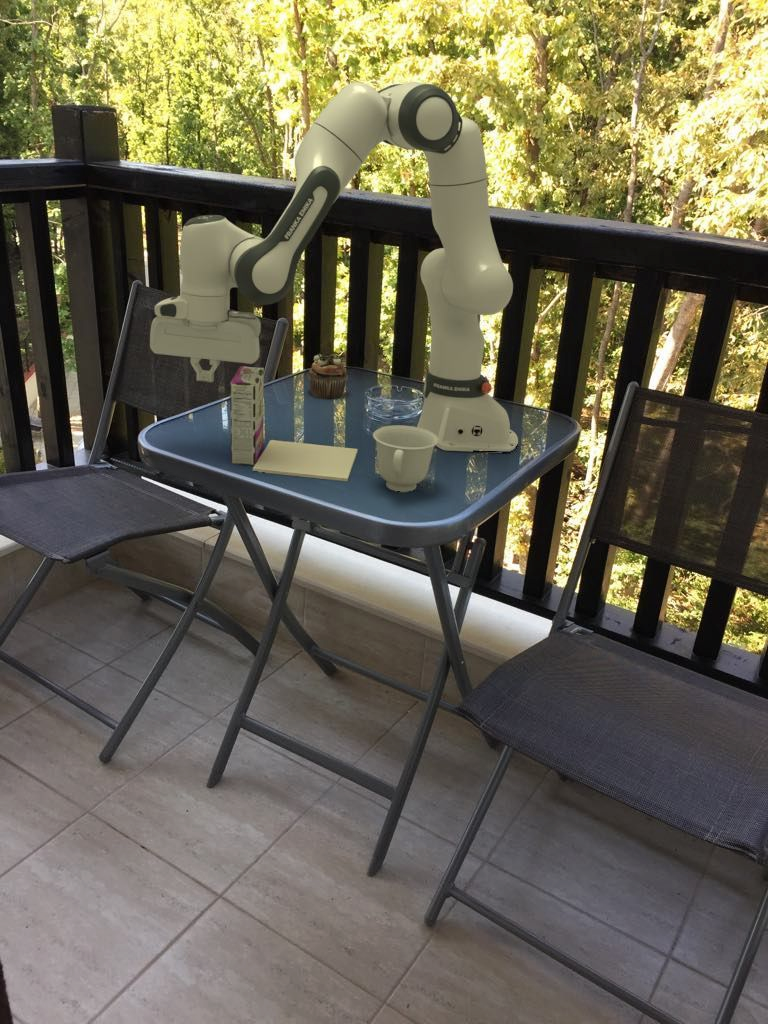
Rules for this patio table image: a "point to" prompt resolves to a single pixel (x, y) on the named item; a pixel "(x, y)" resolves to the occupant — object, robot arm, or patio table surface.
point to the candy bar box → (247, 415)
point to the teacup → (404, 455)
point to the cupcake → (327, 377)
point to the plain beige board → (306, 460)
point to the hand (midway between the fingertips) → (205, 380)
